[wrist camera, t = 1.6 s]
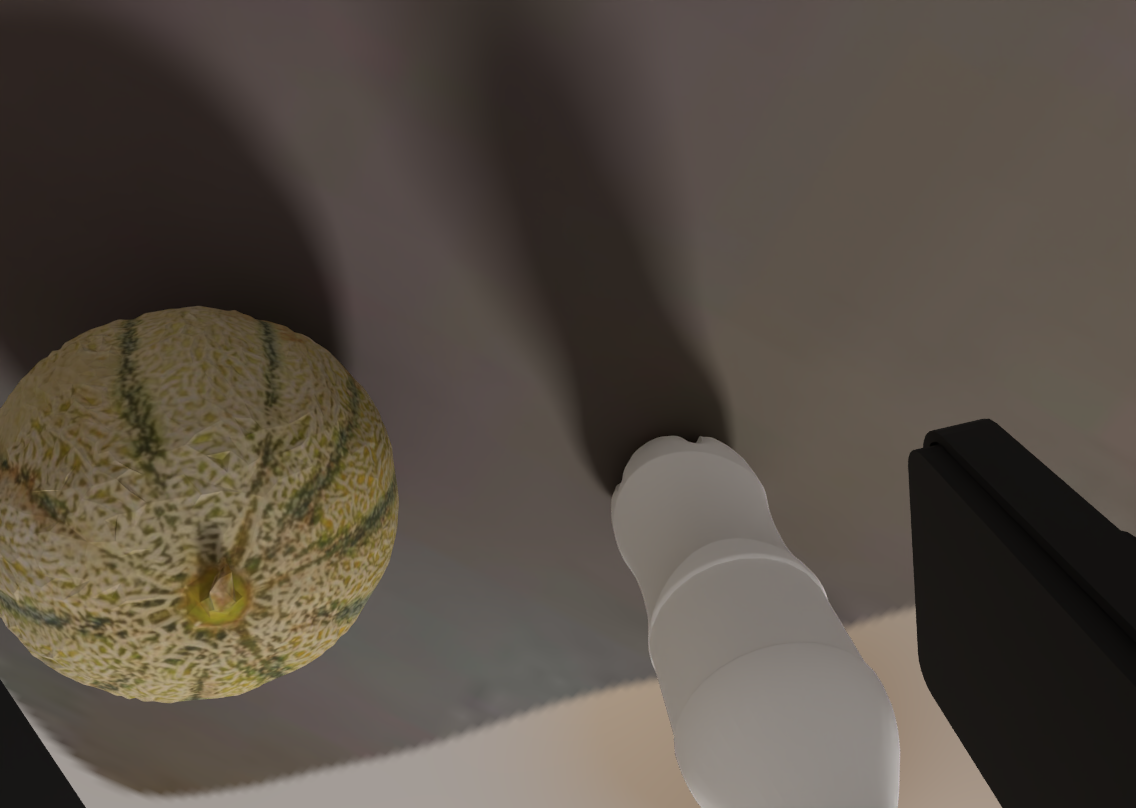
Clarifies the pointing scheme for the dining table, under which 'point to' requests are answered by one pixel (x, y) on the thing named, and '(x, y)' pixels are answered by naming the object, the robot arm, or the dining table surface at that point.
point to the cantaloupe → (190, 504)
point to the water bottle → (748, 642)
